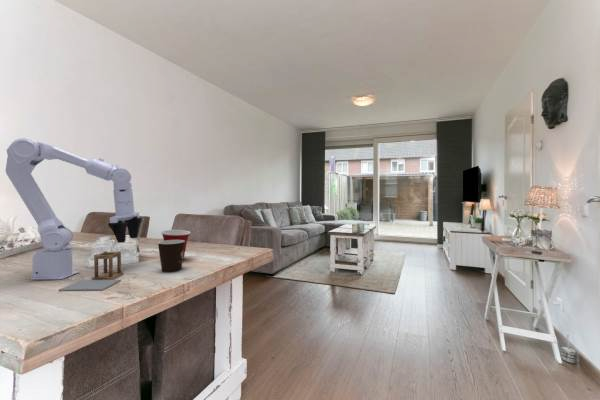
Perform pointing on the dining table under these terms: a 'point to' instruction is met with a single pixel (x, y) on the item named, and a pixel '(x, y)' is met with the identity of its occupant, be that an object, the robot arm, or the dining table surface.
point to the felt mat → (90, 285)
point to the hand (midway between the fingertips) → (127, 240)
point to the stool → (110, 274)
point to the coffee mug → (171, 255)
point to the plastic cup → (176, 236)
